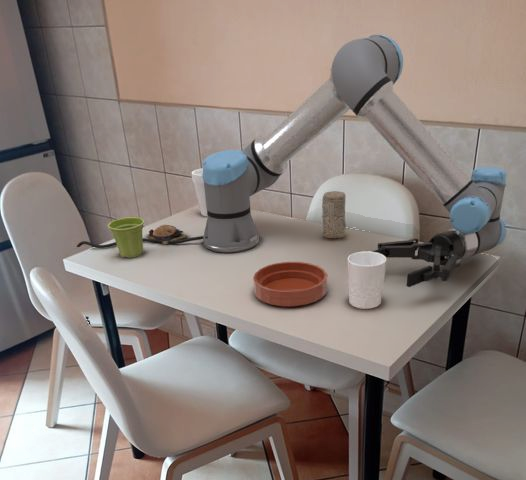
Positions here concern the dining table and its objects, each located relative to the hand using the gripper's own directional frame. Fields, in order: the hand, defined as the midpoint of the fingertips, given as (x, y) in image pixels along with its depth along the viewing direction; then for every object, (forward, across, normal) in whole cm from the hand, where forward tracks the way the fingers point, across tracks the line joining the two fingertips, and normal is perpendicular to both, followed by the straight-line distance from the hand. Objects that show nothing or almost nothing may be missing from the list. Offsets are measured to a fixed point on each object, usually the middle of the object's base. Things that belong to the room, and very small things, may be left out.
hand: (384, 270), depth 122 cm
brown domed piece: (+20, +66, -6) cm, 70 cm away
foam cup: (0, +77, -6) cm, 77 cm away
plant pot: (+33, +61, -6) cm, 70 cm away
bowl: (+14, +14, -6) cm, 21 cm away
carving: (-15, +35, -6) cm, 39 cm away
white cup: (+5, 0, -6) cm, 8 cm away
